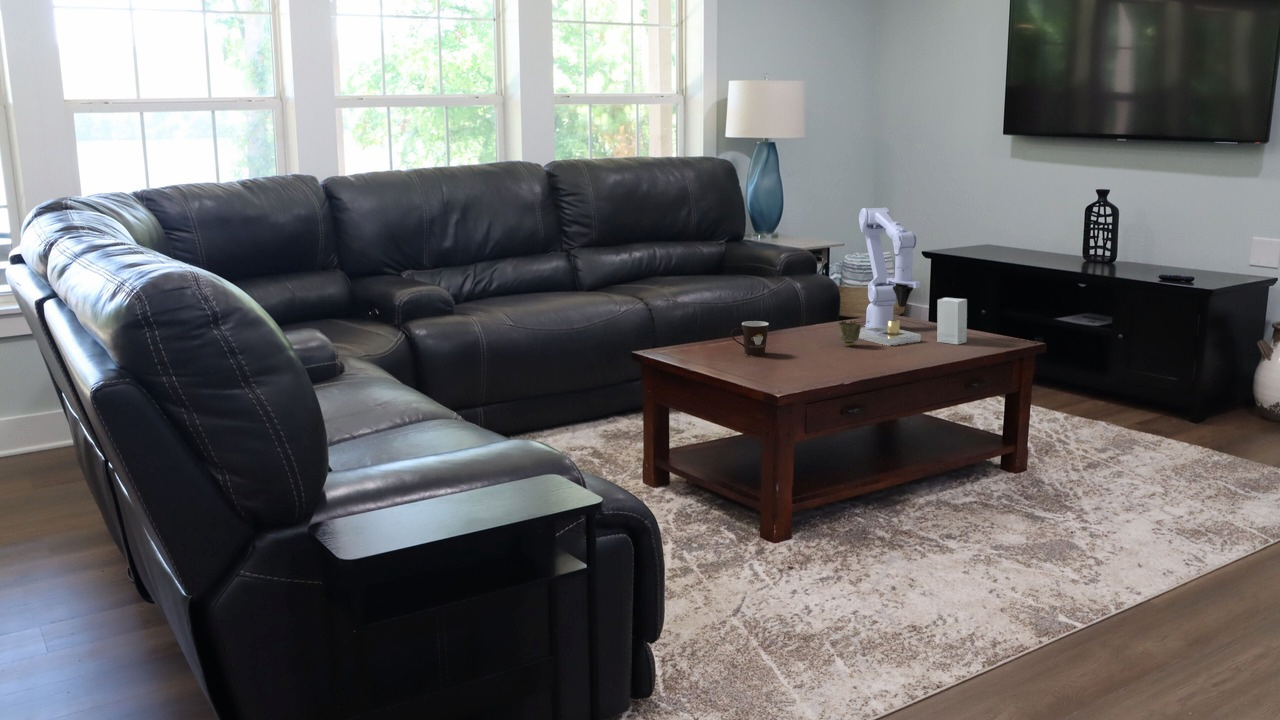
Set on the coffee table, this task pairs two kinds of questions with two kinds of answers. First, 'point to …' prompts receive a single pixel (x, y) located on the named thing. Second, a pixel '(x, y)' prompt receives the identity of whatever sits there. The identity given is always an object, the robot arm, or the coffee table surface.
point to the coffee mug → (753, 337)
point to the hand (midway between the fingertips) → (902, 306)
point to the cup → (849, 332)
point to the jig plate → (887, 336)
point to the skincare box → (952, 320)
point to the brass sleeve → (893, 327)
